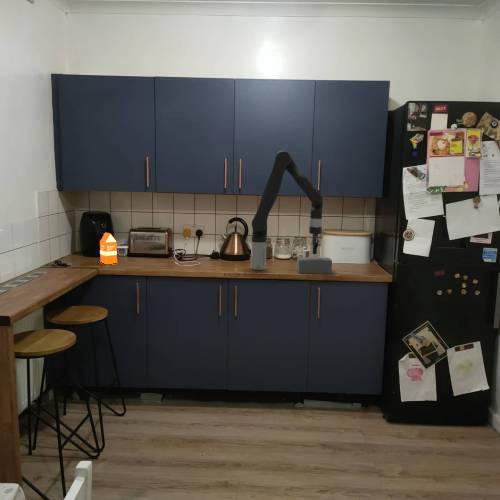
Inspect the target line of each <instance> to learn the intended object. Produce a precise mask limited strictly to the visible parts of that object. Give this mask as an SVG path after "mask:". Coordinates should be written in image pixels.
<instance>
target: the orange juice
mask: <svg viewBox="0 0 500 500" xmlns="http://www.w3.org/2000/svg"><path fill="white" fill-rule="evenodd" d="M117 247H118V245H117V240H116V239H115V238H114V236H113V235H112V234H111V233H109V232H105V233H104V234H103V235H102V238H101V239H100V240H99V248H100V249H99V254H100V263H101V262H102V263H104V264H112V265H114V264H113V263H117V264H118V251H117V250H118V249H117ZM102 263H101V264H102ZM104 264H103V265H104Z"/></svg>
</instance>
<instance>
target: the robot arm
mask: <svg viewBox="0 0 500 500" xmlns="http://www.w3.org/2000/svg"><path fill="white" fill-rule="evenodd" d="M285 171H286V172H287V173H288V174H289V175H290V176H291V177H292V179H293V180H294V181H295V183H296V185H297V186H298V187H299V189H301V191H302V192H303V193H304V194H305V195H306V197H307V198H308V200H309V201H310V202H311V207H310V208H311V209H310V213H309V215H310V216H309V217H310V219H309V227H308V228H309V229H308V230H309V231H308V233H309V234H311V235H312V236H311V243H312V244H313V254H316V253H317V248H318V244H320V243H319V242H320V240H319V239H320V237H319V235H321V234H322V232H323V230H322V229H323V203H324V197H323V194H321V193H320V192H319V191H318V190H317V189H316V187H315V186H314V184H313V183H312V181H310V179H309V178H308V177H307V176H306V175H305V174H304V173H303V172H302V170H301V169H300V168H299V167H298V165H297V164H296V162H295V161H294V160H293V158H292V155H291V153H289V152H288V151H287V150H280V151H278V152H277V153H276V156H275V158H274V162H273V167H272V169H271V172H270V174H269V176H268V179H267V181H266V183H265V186H264V189H263V191H262V193H261V194H262V195H261V197H260V200H259V201H260V202H259V205H258V208H257V210H256V213H255V215H254V216H253V219H252V221H251V227H252V233H251V253H250V254H251V256H250V257H251V259H250V260H251V261H250V269H251V270H254V271H255V270H256V271H262V270H266V269H267V239H268V219H269V215H270V213H271V210H272V209H273V207H274V204H275V203H276V201H277V198H278V197H279V194H280V190H281V187H282V181H283V177H284V175H285ZM315 245H316V246H315Z"/></svg>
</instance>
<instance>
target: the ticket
mask: <svg viewBox="0 0 500 500" xmlns="http://www.w3.org/2000/svg"><path fill="white" fill-rule="evenodd" d="M315 246H316V245H315ZM321 246H322V245H321V243H318V248H317V253H316V254H313V244H312V242H310V247H309V250H310V252H309V258H320V251H321Z"/></svg>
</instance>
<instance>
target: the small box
mask: <svg viewBox="0 0 500 500" xmlns="http://www.w3.org/2000/svg"><path fill="white" fill-rule="evenodd" d="M309 252H310V249H303V250H302V257H309Z"/></svg>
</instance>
